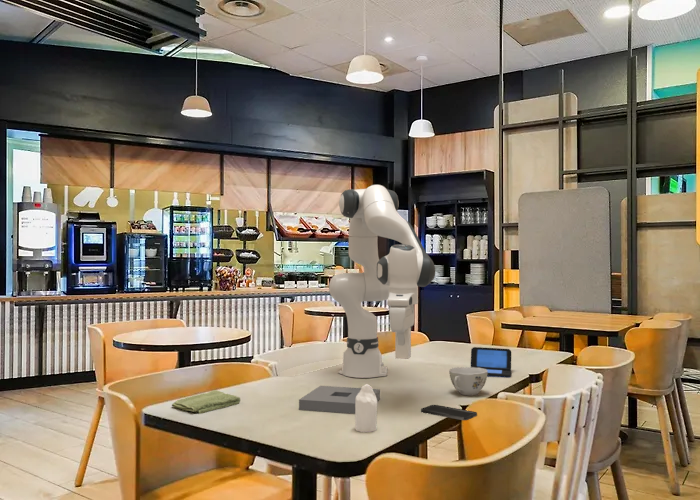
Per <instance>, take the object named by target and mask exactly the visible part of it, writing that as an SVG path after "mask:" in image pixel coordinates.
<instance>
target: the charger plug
mask: <svg viewBox="0 0 700 500" xmlns="http://www.w3.org/2000/svg"><path fill="white" fill-rule="evenodd" d="M394 335H395V338H394V339H395V342H394V343H395V344H394V345H395V346H394V347H395V353H394V357H395V359H397V360H399V359H400V360H401V359H403V360H409V359H411V357H412V326H411V327H409V328H408V329H407V330H405V334H404V339H405V344H404V345H403V346H402V345H398V337H397V332H394Z"/></svg>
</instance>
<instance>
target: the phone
mask: <svg viewBox="0 0 700 500" xmlns="http://www.w3.org/2000/svg"><path fill="white" fill-rule="evenodd" d="M420 412H421V413H422V412H423V414H427V413H428V415H433V416H438V417H444V418H449V419H455V420H460V421H469V420H470V419H473V418H475V417H477V416H478V412H477V411H474V410H473V411H472V410H468V411H467V409H461V408H456V407H450V406H445V405H440V404H439V405H438V404H430V405H427V406H425V407H422V408H421V409H420Z"/></svg>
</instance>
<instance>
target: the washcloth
mask: <svg viewBox="0 0 700 500" xmlns="http://www.w3.org/2000/svg"><path fill="white" fill-rule="evenodd" d="M240 403H241V397H239V396H237V395H234V394H231V393H225V392H224V391H220V390H212V391H211V390H210V391H208V392H206V393H205V392H203V393H200V394H196V395H191V396H188V397H185V398H180V399H177V400H176V401H175V402H173V403H172V404H171V407H174V408H175V409H179V410H182V411H187V412H192V413H195V414H199V415H201V414H205V413H209V412H212V411H217V410H221V409H224V408H228V407H232V406H235V405H238V404H240Z"/></svg>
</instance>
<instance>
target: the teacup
mask: <svg viewBox="0 0 700 500" xmlns="http://www.w3.org/2000/svg"><path fill="white" fill-rule="evenodd" d="M448 371H449V378H450V381H451V383H452V385H453V387H454V389H456V390H457V392H458V393H459V394H460V395H463V396H477V395H479V393H480V391H482V389H483V388H484V387H485V385H486V383H487V378H488V377H487V373H488V371H487V370H486V369H484V368H474V367H471V366H469V367H467V366H466V367H463V366H461V367H459V366H457V367H452V368H450V369H449V370H448Z"/></svg>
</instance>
